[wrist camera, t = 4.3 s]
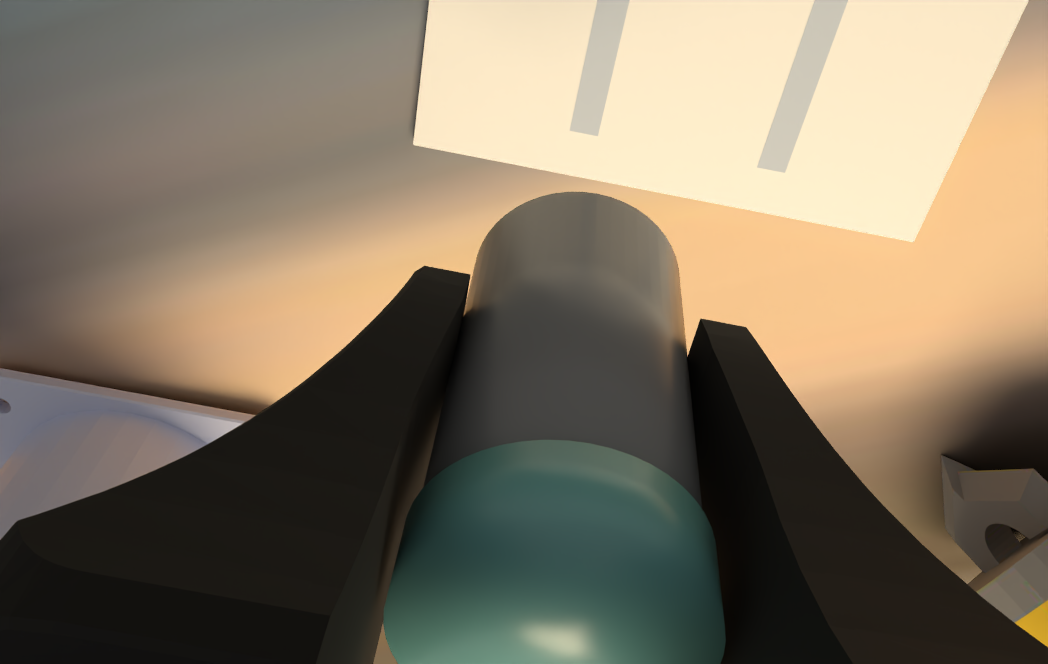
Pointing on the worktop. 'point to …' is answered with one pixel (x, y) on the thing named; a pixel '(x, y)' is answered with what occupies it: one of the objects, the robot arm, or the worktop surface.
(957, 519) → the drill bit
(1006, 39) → the paper
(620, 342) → the marker
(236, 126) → the worktop surface
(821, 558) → the robot arm
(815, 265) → the worktop surface
